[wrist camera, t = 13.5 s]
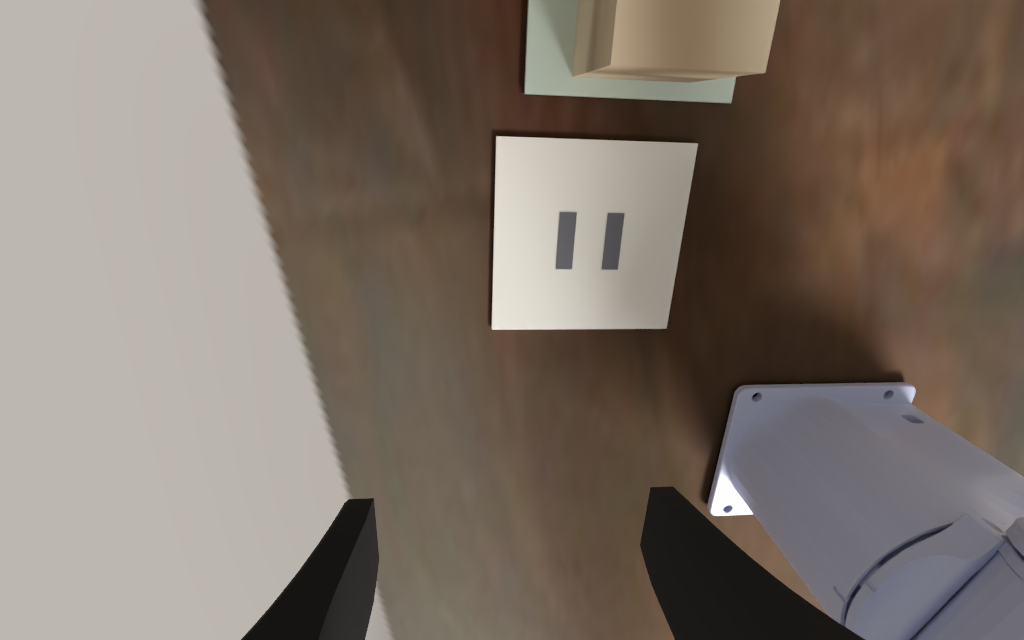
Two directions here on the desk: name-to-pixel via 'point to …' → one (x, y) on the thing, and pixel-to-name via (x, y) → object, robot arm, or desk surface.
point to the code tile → (587, 232)
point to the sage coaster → (554, 70)
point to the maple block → (673, 39)
